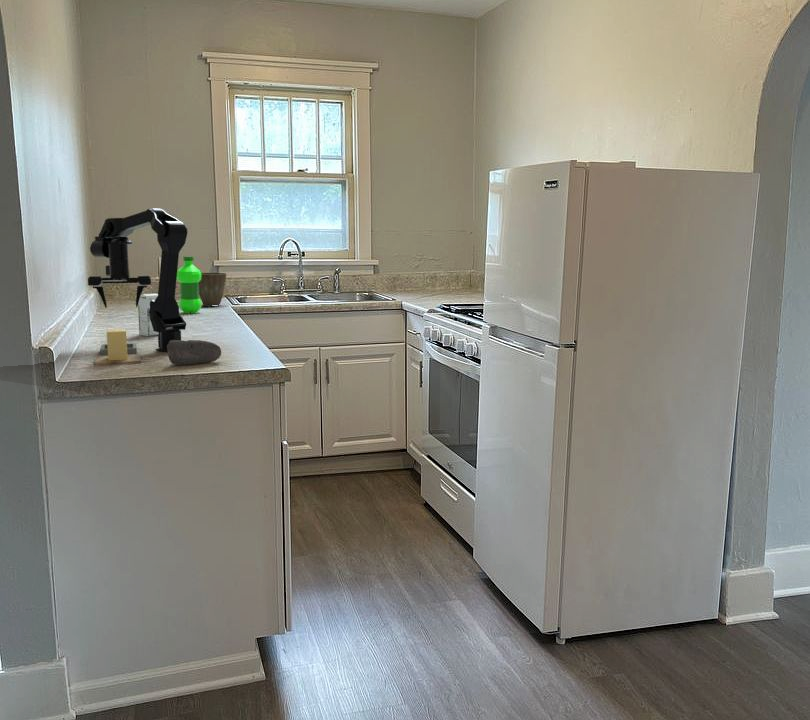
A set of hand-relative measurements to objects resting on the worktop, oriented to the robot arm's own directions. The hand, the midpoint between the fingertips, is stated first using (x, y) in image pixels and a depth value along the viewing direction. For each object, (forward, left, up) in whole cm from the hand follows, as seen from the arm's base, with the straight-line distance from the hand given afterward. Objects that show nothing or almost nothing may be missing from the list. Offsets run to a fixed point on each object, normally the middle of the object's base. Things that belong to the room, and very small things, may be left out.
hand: (121, 307), depth 237 cm
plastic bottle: (+45, -81, -12) cm, 93 cm away
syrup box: (+8, -20, -12) cm, 25 cm away
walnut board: (-22, +23, -12) cm, 34 cm away
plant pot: (+57, -109, -12) cm, 124 cm away
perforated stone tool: (-44, +16, -12) cm, 48 cm away
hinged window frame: (-8, +9, -12) cm, 17 cm away
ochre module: (-22, +23, -11) cm, 34 cm away
